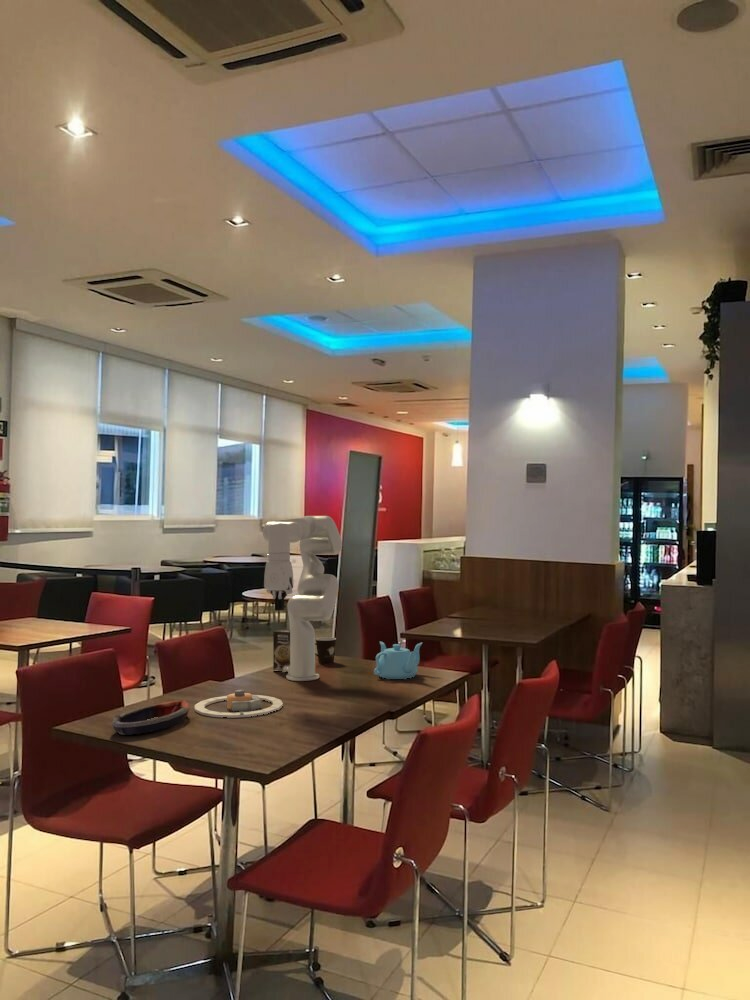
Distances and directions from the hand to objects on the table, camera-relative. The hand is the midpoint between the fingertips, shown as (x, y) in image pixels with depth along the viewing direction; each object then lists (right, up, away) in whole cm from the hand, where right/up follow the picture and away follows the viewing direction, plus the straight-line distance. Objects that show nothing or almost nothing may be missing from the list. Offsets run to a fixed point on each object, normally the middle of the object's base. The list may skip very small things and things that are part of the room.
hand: (279, 609), depth 287 cm
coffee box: (-2, -30, +38) cm, 49 cm away
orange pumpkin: (-10, -29, -22) cm, 38 cm away
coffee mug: (+12, -30, +56) cm, 65 cm away
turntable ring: (-11, -29, -22) cm, 38 cm away
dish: (-32, -29, -44) cm, 62 cm away
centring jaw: (-7, -29, -24) cm, 38 cm away
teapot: (+43, -30, +27) cm, 59 cm away
